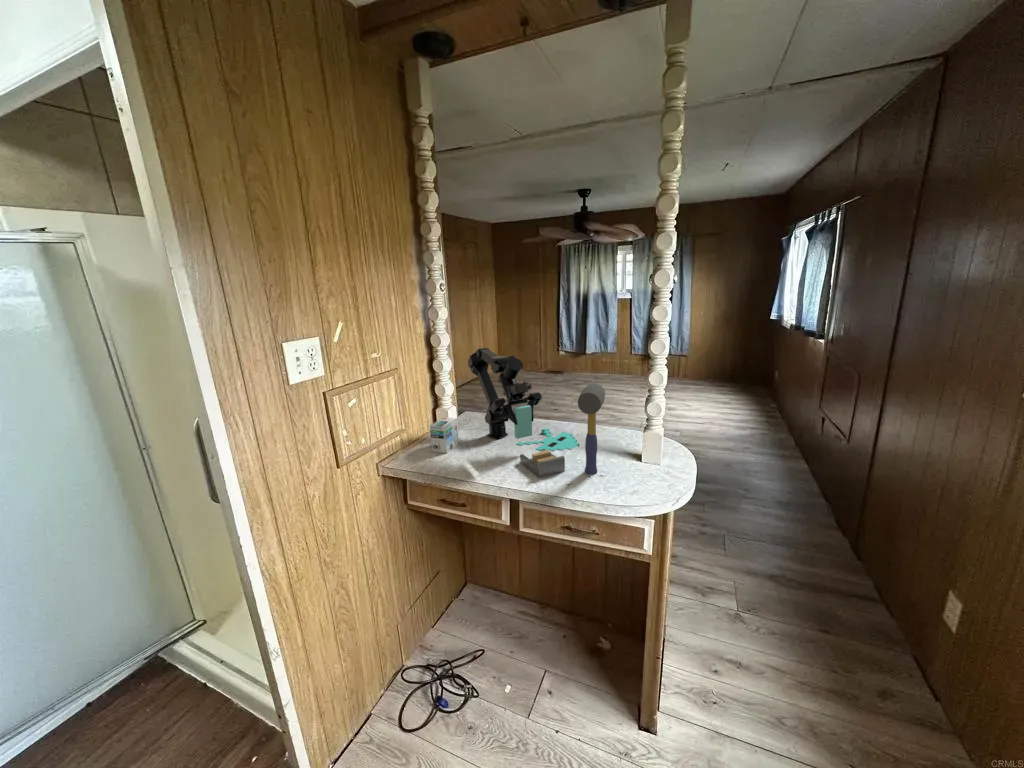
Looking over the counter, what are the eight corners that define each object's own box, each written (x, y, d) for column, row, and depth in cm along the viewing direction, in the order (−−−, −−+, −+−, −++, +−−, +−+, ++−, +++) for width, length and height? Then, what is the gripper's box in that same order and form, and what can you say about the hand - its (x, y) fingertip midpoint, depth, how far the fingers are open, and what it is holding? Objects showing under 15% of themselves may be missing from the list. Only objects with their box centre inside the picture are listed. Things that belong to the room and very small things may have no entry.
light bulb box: (447, 453, 149) (444, 427, 146) (431, 452, 151) (428, 425, 148) (459, 442, 159) (457, 417, 156) (444, 441, 161) (442, 416, 158)
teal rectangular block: (514, 436, 141) (513, 407, 138) (529, 433, 144) (528, 405, 141) (517, 438, 139) (516, 409, 137) (532, 435, 142) (531, 406, 139)
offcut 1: (532, 467, 131) (532, 453, 130) (548, 463, 134) (547, 449, 133) (535, 469, 130) (535, 455, 128) (551, 465, 132) (550, 452, 131)
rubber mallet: (600, 486, 120) (601, 392, 113) (575, 483, 123) (576, 391, 115) (605, 468, 132) (606, 382, 124) (582, 466, 134) (583, 381, 127)
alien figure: (516, 449, 151) (561, 461, 140) (516, 443, 151) (561, 455, 139) (544, 432, 167) (587, 442, 155) (544, 427, 166) (587, 437, 154)
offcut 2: (537, 471, 129) (536, 459, 128) (552, 466, 131) (552, 455, 130) (540, 473, 127) (539, 462, 126) (555, 469, 130) (555, 458, 129)
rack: (518, 465, 137) (518, 448, 135) (543, 459, 141) (543, 442, 139) (538, 482, 124) (538, 463, 123) (565, 475, 129) (565, 456, 127)
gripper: (492, 377, 136) (507, 416, 129) (539, 370, 143) (555, 407, 136) (484, 394, 144) (498, 431, 138) (529, 386, 152) (544, 422, 145)
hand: (524, 422), depth 139 cm, fingers closed on teal rectangular block, 6 cm apart
